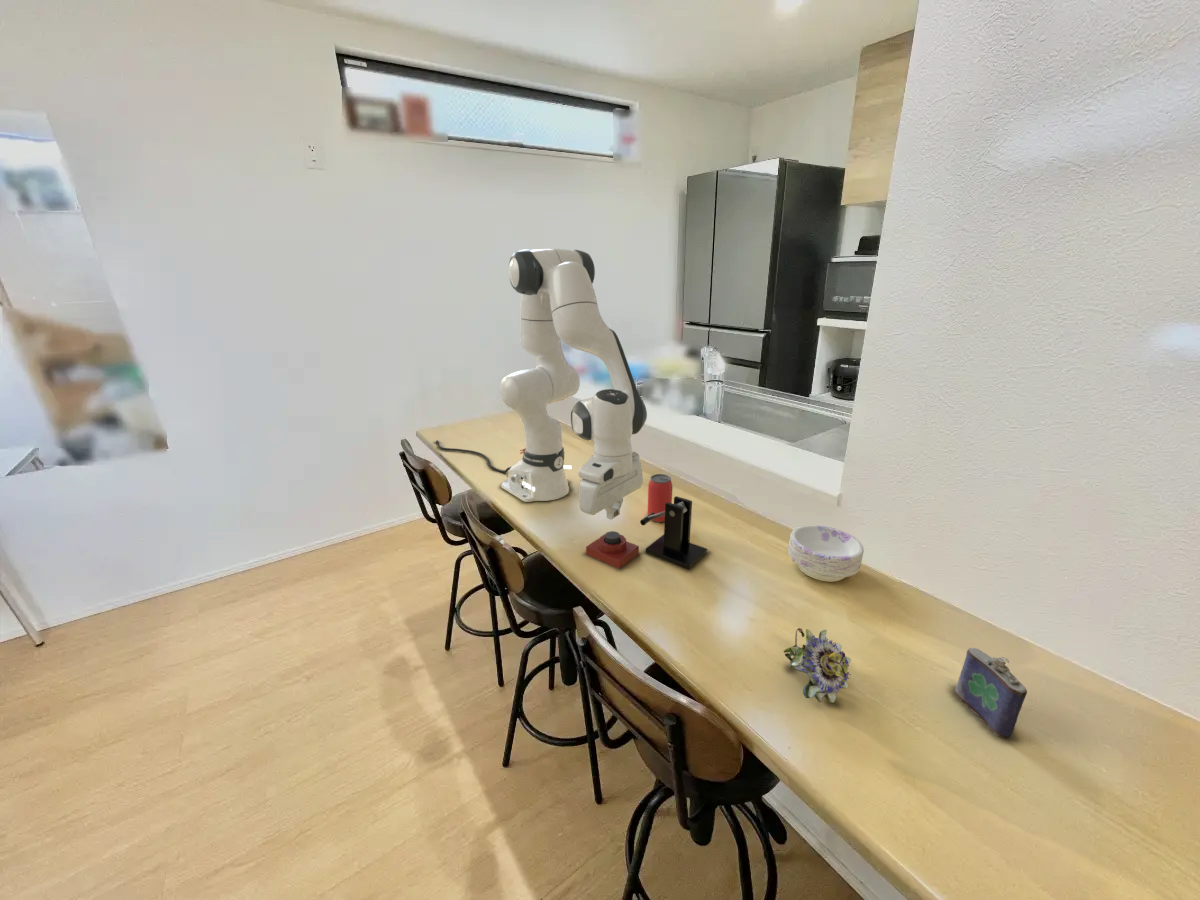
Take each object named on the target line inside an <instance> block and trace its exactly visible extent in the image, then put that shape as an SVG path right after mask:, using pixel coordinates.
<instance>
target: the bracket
mask: <svg viewBox="0 0 1200 900" xmlns="http://www.w3.org/2000/svg"><path fill="white" fill-rule="evenodd" d="M680 502H684V504H685V506H686V508H687V511H686V512H685V513H684V507H682V506H679V505H675V504H677V503H680ZM692 509H693V501H692V500H690V499H688V498H684V497H680V496H674V497H673V502H672V503H669V502H667V503H665V521H664V527H663V535H661V536H660V537H659V538H658V539H656V540H655V541H653V542H652V543H651V544H649V545H648V546H647V547H646V548H645V554H648V555H651V556H654V557H656V558H659V559H661V560H664V561H665V562H669V563H671V564H673V565H676V566H678V567H681V568H684V569H686V570H690V569H692V567H694V566H695V565H696V564H697V563H698V562H699V561H700V560H701V559H702V558H703V557H704V556H706V555H707V553H708V548H706V547H704V546H700V545H698V544H694V543H692V542H690V541H691V526H692V512H693V511H692Z"/></svg>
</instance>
